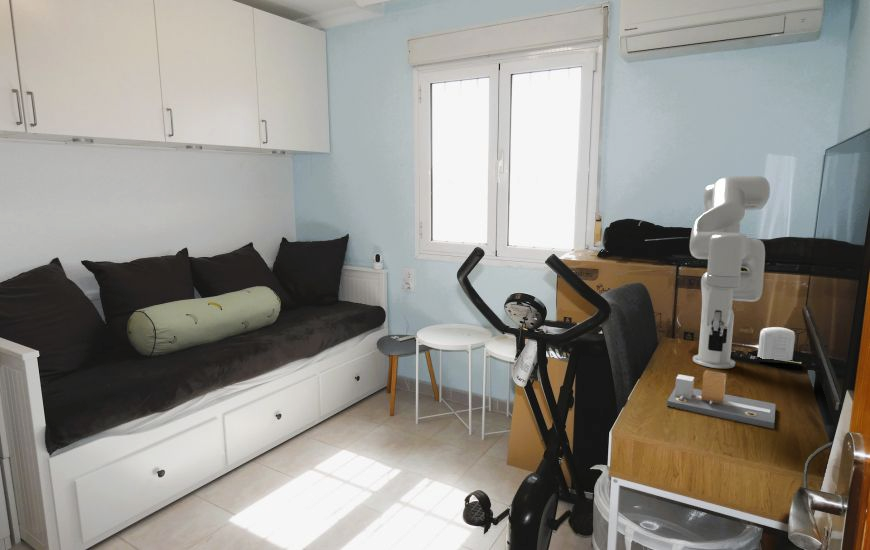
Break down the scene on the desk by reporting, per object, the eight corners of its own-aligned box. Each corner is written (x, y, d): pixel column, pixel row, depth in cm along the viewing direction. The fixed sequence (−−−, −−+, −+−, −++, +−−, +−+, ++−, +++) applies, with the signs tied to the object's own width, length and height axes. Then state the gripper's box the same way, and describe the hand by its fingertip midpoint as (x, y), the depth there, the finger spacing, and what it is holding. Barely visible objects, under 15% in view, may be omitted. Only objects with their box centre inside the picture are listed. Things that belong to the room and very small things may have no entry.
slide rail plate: (676, 390, 149) (677, 368, 148) (774, 409, 135) (777, 385, 134) (666, 406, 137) (668, 383, 136) (773, 428, 124) (776, 403, 123)
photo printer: (787, 361, 175) (791, 326, 173) (794, 365, 170) (798, 329, 168) (754, 360, 176) (758, 325, 174) (760, 364, 172) (764, 328, 170)
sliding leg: (703, 394, 140) (705, 370, 139) (724, 398, 137) (726, 373, 136) (699, 402, 134) (701, 377, 133) (721, 407, 131) (723, 381, 130)
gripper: (710, 277, 141) (705, 337, 144) (701, 284, 127) (696, 351, 129) (741, 279, 137) (736, 341, 139) (736, 287, 123) (730, 356, 125)
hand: (717, 346), depth 134 cm, fingers open, 9 cm apart
